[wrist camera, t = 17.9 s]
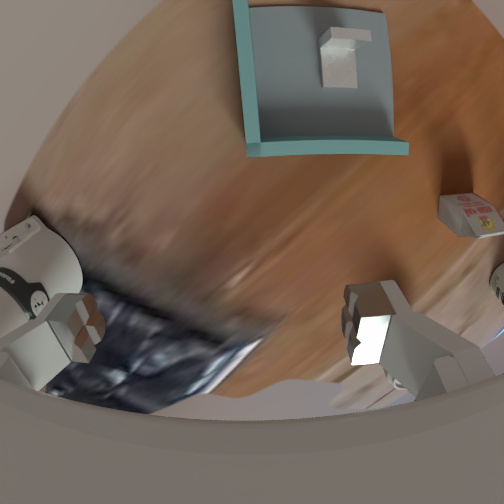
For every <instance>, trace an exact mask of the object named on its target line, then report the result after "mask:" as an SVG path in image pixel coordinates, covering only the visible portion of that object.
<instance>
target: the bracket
mask: <svg viewBox="0 0 504 504" xmlns="http://www.w3.org/2000/svg"><path fill="white" fill-rule="evenodd" d="M371 41H372V39H371V31H370V30H362V29H352V28H340V27H330V28H329V29H328V30H327V31H326V32H325V33H324V34H323V35H322V36H321V37H320V38H319V39H318V49H319V60H320V72H321V86H322V87H323V88H354V89H355V88H358V87H357V72H356V59H355V49H357V48H359V47H361V46H363V45H365V44H367V43H369V42H371Z"/></svg>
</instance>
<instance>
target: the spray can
mask: <svg viewBox="0 0 504 504" xmlns="http://www.w3.org/2000/svg"><path fill="white" fill-rule="evenodd" d="M490 288H491V290H492V292H493V293H494V294H495V295H496V296H497V297H498V299H499V300H500V301H501V302H502V303H503V304H504V263H502V264H501V265H499V266H498V267H497V268H496V269H495V270H494V272H493V274H492V276H491V279H490Z"/></svg>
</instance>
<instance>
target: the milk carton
mask: <svg viewBox="0 0 504 504" xmlns="http://www.w3.org/2000/svg"><path fill="white" fill-rule="evenodd" d="M438 219H439V220H440V221H441V222H442V223H444V224H445V225H446V226H447V227H448V228H449V229H450V230H452V231H453V232H454V233H455V234H456V235H457V236H458V237H468V236H469V237H474V238H476V239H478V238H483V237H489V236H495V235H501V234H504V219H503V217H502V216H501V214H500V212H499V211H498V209H497V208H496V206H494V205H493V204H491V203H489V202H488V201H486V200H485V199H483V198H482V197H480V196H478V195H477V194H475V193H461V194H448V195H440V201H439V215H438Z"/></svg>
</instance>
